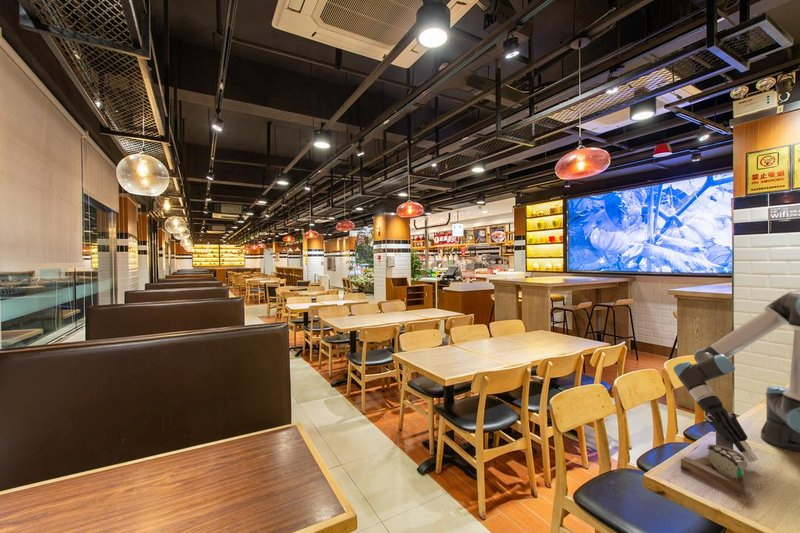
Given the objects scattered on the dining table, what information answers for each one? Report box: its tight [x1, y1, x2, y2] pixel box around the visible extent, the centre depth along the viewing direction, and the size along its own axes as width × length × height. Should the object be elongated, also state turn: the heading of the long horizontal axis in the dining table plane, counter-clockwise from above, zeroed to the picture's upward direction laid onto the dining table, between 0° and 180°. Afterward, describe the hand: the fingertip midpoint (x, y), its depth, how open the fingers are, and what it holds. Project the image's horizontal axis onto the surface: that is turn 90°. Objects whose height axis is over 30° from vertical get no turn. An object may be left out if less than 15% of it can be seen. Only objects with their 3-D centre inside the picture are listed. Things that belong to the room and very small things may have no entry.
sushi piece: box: [706, 443, 748, 483], centre depth 121 cm, size 12×6×10 cm, turn 179°
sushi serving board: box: [680, 429, 746, 497], centre depth 126 cm, size 26×17×11 cm, turn 112°
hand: (753, 460), depth 128 cm, fingers closed
